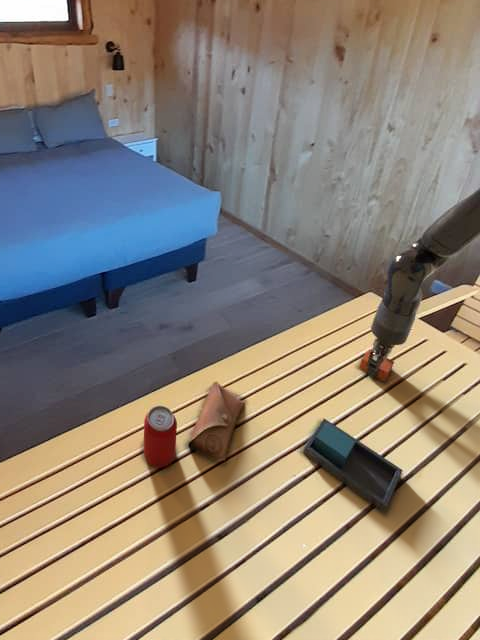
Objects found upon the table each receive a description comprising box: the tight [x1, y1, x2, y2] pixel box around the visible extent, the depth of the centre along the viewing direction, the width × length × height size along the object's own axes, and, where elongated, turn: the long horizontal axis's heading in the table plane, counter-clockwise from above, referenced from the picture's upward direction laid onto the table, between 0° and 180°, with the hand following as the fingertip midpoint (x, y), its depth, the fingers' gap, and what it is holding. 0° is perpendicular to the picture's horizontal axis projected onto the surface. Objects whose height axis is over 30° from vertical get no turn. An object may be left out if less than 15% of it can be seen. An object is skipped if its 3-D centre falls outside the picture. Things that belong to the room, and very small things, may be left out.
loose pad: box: [358, 348, 395, 382], centre depth 104 cm, size 6×5×4 cm
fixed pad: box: [313, 422, 355, 469], centre depth 85 cm, size 6×5×4 cm
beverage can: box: [143, 405, 178, 468], centre depth 84 cm, size 7×7×12 cm
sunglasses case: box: [187, 381, 245, 461], centre depth 92 cm, size 18×7×7 cm, turn 151°
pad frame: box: [302, 418, 404, 513], centre depth 83 cm, size 16×10×3 cm, turn 43°
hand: (374, 369), depth 105 cm, fingers closed on loose pad, 5 cm apart
